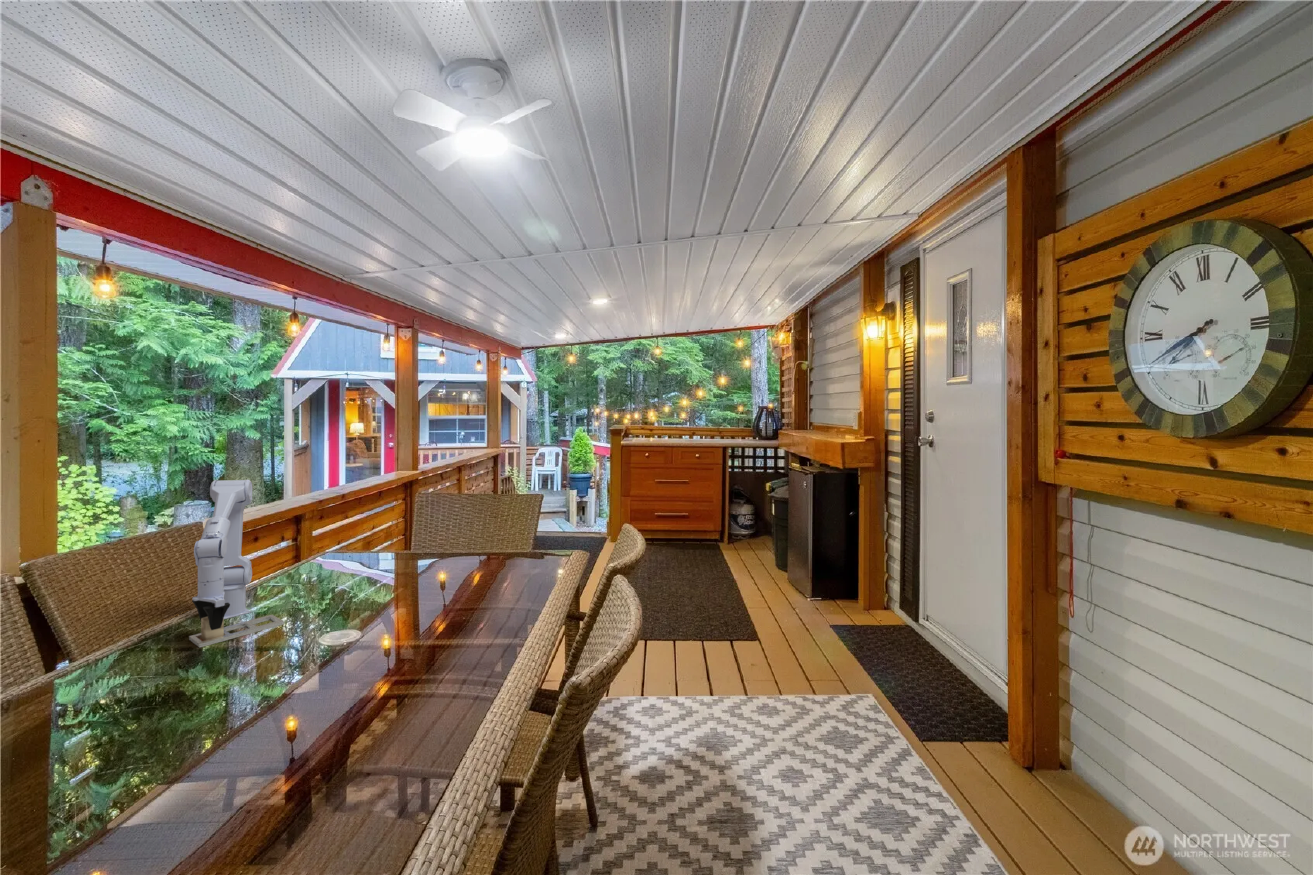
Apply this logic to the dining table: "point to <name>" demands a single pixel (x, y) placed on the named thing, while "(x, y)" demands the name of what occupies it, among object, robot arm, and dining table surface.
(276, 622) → the white rectangular slotted frame
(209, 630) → the block
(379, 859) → the dining table surface
